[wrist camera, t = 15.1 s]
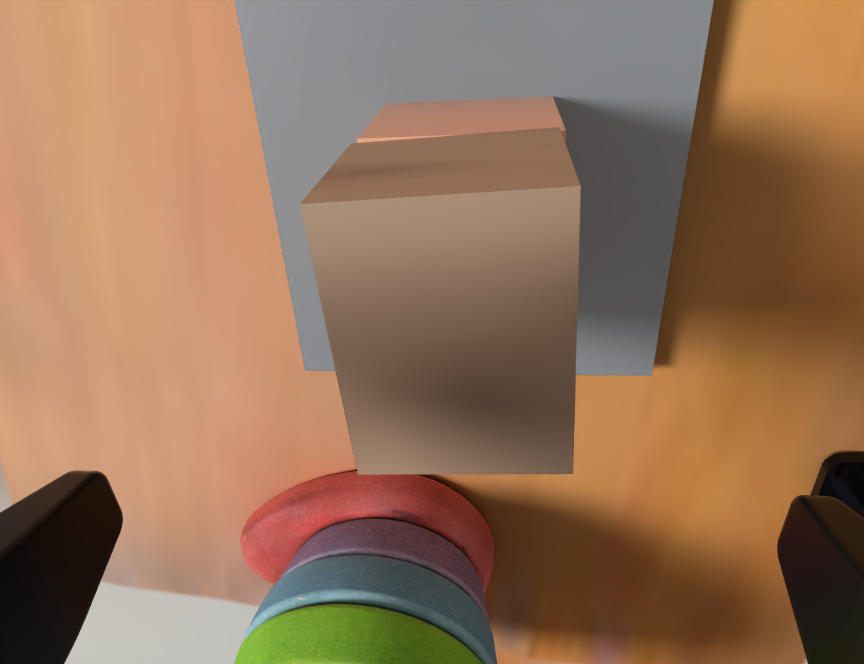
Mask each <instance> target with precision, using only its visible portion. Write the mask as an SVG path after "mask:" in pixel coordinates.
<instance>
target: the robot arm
mask: <svg viewBox="0 0 864 664" xmlns="http://www.w3.org/2000/svg"><path fill="white" fill-rule="evenodd" d="M840 467H842V468H840ZM838 468H840V469H838ZM122 523H123V515H122V511H121V508H120V506H119V504H118V501H117V499H116V497H115V495H114V492H113V490H112V488H111V486H110V483H109V481H108V479H107V477H106V476H105V475H104V474H103V473H102V472H98V471H78V470H76V471H71V472H68V473H66V474H64V475H62V476H61V477H59V478H57V479H56V480H54V481H52V482H51V483H49V484H47V485H46V486H44V487H42V488H41V489H39V490H37V491H36V492H34V493H32V494H31V495H29V496H27V497H25V498H24V499H22V500H20V501H19V502H17V503H15V504H14V505H12V506H10V507H9V508H7V509H5V510H4V511H2V512H0V664H64V663H65V661H66V659H67V657H68V655H69V653H70V651H71V649H72V647H73V645H74V643H75V641H76V639H77V636H78V635H79V632H80V630H81V628H82V625H83V623H84V621H85V619H86V616H87V614H88V611H89V609H90V606H91V604H92V601H93V599H94V596H95V594H96V591H97V589H98V586H99V584H100V581H101V579H102V576H103V574H104V571H105V569H106V566H107V564H108V562H109V559H110V557H111V554H112V552H113V549H114V547H115V544H116V542H117V539H118V537H119V534H120V532H121V528H122ZM777 551H778V559H779V563H780V566H781V570H782V573H783V577H784V580H785V584H786V588H787V591H788V595H789V598H790V602H791V605H792V609H793V612H794V616H795V620H796V623H797V627H798V630H799V634H800V637H801V641H802V644H803V648H804V652H805V655H806V659H807V662H808V664H864V455H852V454H838V455H833V456H830V457H828V458H827V459H826V460H824V462H823V463H822V466H821V468H820V471H819V474H818V476H817V479H816V482H815V484H814V487H813V490H812V492H811V495H800V496H797V497H796V498H795V499H793V501H792V503H791V505H790V508H789V511H788V513H787V516H786V519H785V522H784V525H783V527H782V530H781V533H780V536H779V539H778V545H777Z"/></svg>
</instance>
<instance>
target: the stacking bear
mask: <svg viewBox="0 0 864 664" xmlns="http://www.w3.org/2000/svg"><path fill="white" fill-rule="evenodd" d="M240 545H241V548H242V551H243V554H244V559H245V562H246V564H247V565H248V566H249V567H250V568H251V569H252V570H253V571H254V572H256V573H257V574H258V575H260V576H261V577H262V578H264V579H265V580H266V581H268V582H270V583H272V584H274V586H273V587H272V588H271V589H270V591H269V593H268V594H267V596H266V597H265V599H264V601H263V602H262V604H261V605H260V607H259V609H258V611H257V613H256V615H255V616H254V618H253V620H252V622H251V624H250V626H249V628H248V630H247V632H246V635H245V639H244V642H243V644H242V645H241V647H240V649H239V651H238V654H237V657H236V661H235V663H234V664H497V660H496V653H495V646H494V639H493V634H492V631H491V627H490V620H489V614H488V608H487V603H486V599H485V592H486V590H487V587H488V584H489V580H490V577H491V573H492V568H493V564H494V555H495V548H494V541H493V537H492V534H491V531H490V529H489V527H488V525H487V523H486V521H485V520H484V518H483V517H482V515H481V514H480V513H479V512H478V510H477V509H476V508H475V507H474V506H473V505H472V504H471V503H470V502H469V501H468V500H466V499H465V498H464V497H463V496H461V495H460V494H459V493H457V492H455V491H454V490H452V489H451V488H449V487H447V486H445V485H443V484H441V483H439V482H436V481H434V480H432V479H429V478H426V477H423V476H420V475H416V474H379V475H358V472H357V471H353V472H345V473H340V474H335V475H330V476H325V477H321V478H318V479H315V480H311V481H308V482H305V483H302V484H300V485H297V486H295V487H293V488H290V489H288V490H286V491H284V492H282V493H280V494H279V495H277V496H275V497H274V498H272V499H271V500H269V501H268V502H266V503H265V504H264V505H263V506H261V507H260V508H259V509H258V510H257V511H256V512H255V513H254V514H253V515H252V516H251V517H250V518H249V519H248V521H247V522H246V524H245V526H244V529H243V531H242V535H241V540H240Z"/></svg>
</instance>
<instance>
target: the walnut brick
mask: <svg viewBox="0 0 864 664" xmlns="http://www.w3.org/2000/svg"><path fill="white" fill-rule="evenodd" d="M580 194H581V185H580V183H579V180H578V177H577V174H576V171H575V169H574V166H573V163H572V160H571V158H570V155H569V152H568V149H567V146H566V144H565V141H564V138H563V135H562V133H561V130H560V127H555V128H542V129H529V130H516V131H504V132H491V133H478V134H465V135H452V136H439V137H426V138H414V139H401V140H388V141H375V142H362V143H351V144H350V145H349V147H348V148H347V149H346V150H345V151H344V152H343V154H342V155H341V156H340V157H339V158H338V159H337V161H336V162H335V163H334V164H333V165H332V167H331V168H330V169H329V170H328V171H327V172H326V174H325V175H324V176H323V177H322V178H321V179H320V181H319V182H318V183H317V184H316V185H315V187H314V188H313V189H312V190H311V191H310V192H309V194H308V195H307V196H306V197H305V198H304V199H303V201H302V202H301V203H300V209H301V213H302V218H303V223H304V227H305V232H306V236H307V241H308V246H309V250H310V255H311V260H312V264H313V269H314V273H315V278H316V283H317V287H318V292H319V296H320V301H321V306H322V310H323V315H324V320H325V324H326V329H327V333H328V338H329V343H330V347H331V352H332V357H333V361H334V366H335V370H336V375H337V380H338V384H339V389H340V394H341V398H342V403H343V407H344V412H345V417H346V421H347V426H348V431H349V435H350V440H351V444H352V449H353V454H354V458H355V463H356V468H357V472H358V475H379V474H573V455H574V418H575V380H576V343H577V306H578V269H579V231H580Z"/></svg>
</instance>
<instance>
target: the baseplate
mask: <svg viewBox="0 0 864 664" xmlns="http://www.w3.org/2000/svg"><path fill="white" fill-rule="evenodd" d="M713 3H714V0H235V5H236V10H237V16H238V21H239V26H240V31H241V37H242V42H243V47H244V53H245V58H246V63H247V68H248V74H249V79H250V84H251V89H252V95H253V100H254V105H255V110H256V116H257V121H258V126H259V131H260V137H261V142H262V147H263V152H264V158H265V163H266V168H267V173H268V179H269V184H270V189H271V194H272V200H273V205H274V210H275V215H276V221H277V226H278V231H279V236H280V242H281V247H282V252H283V257H284V263H285V268H286V273H287V278H288V284H289V289H290V294H291V299H292V305H293V310H294V315H295V320H296V326H297V331H298V336H299V341H300V347H301V352H302V357H303V362H304V368H305V371H336V370H335V366H334V361H333V357H332V352H331V347H330V343H329V338H328V333H327V329H326V324H325V320H324V315H323V310H322V306H321V301H320V296H319V292H318V287H317V283H316V278H315V273H314V269H313V264H312V260H311V255H310V250H309V246H308V241H307V236H306V232H305V227H304V223H303V218H302V213H301V209H300V203H301V202H302V201H303V199H304V198H305V197H306V196H307V195H308V194H309V192H310V191H311V190H312V189H313V188H314V187H315V185H316V184H317V183H318V182H319V181H320V179H321V178H322V177H323V176H324V175H325V174H326V172H327V171H328V170H329V169H330V168H331V167H332V165H333V164H334V163H335V162H336V161H337V159H338V158H339V157H340V156H341V155H342V154H343V152H344V151H345V150H346V149H347V148H348V147H349V145H350V144H351V143H357V138H358V137H359V135H360V134H361V133H362V132H363V131H364V129H365V128H366V127H367V126H368V125H369V123H370V122H371V121H372V120H373V119H374V118H375V116H376V115H377V114H378V113H379V112H380V110H381V109H382V108H383V107H384V106H385V104H386V103H407V102H430V101H453V100H476V99H499V98H522V97H545V96H553V99H554V101H555V104H556V106H557V109H558V111H559V114H560V116H561V119H562V122H563V124H564V127H565V129H566V143H565V144H566V146H567V149H568V152H569V155H570V158H571V160H572V163H573V166H574V169H575V171H576V174H577V177H578V180H579V183H580V185H581V194H580V231H579V269H578V306H577V343H576V375H631V376H652V371H653V365H654V359H655V353H656V347H657V341H658V335H659V329H660V323H661V317H662V311H663V305H664V299H665V293H666V287H667V281H668V275H669V268H670V262H671V256H672V250H673V244H674V238H675V232H676V226H677V220H678V214H679V208H680V202H681V196H682V190H683V184H684V178H685V172H686V166H687V160H688V154H689V148H690V142H691V136H692V129H693V123H694V117H695V111H696V105H697V99H698V93H699V87H700V81H701V75H702V69H703V63H704V57H705V51H706V45H707V39H708V33H709V27H710V21H711V15H712V9H713Z"/></svg>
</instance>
